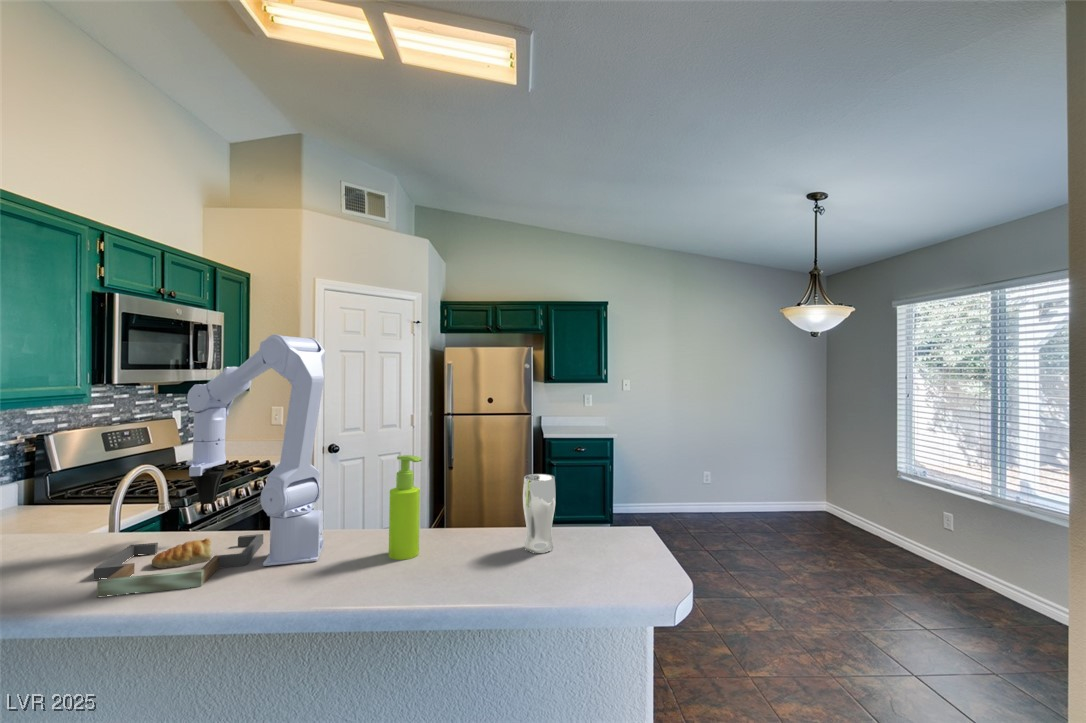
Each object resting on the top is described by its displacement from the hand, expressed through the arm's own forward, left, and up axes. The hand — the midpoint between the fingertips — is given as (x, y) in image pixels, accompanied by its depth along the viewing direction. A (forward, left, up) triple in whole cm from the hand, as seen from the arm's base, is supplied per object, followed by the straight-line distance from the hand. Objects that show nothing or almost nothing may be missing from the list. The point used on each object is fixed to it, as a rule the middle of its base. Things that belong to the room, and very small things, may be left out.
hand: (207, 503), depth 101 cm
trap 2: (-9, +10, -8) cm, 16 cm away
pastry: (0, +10, -9) cm, 14 cm away
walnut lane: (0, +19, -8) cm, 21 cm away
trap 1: (+10, +10, -8) cm, 16 cm away
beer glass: (-68, +23, -9) cm, 72 cm away
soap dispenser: (-41, +19, -9) cm, 46 cm away
